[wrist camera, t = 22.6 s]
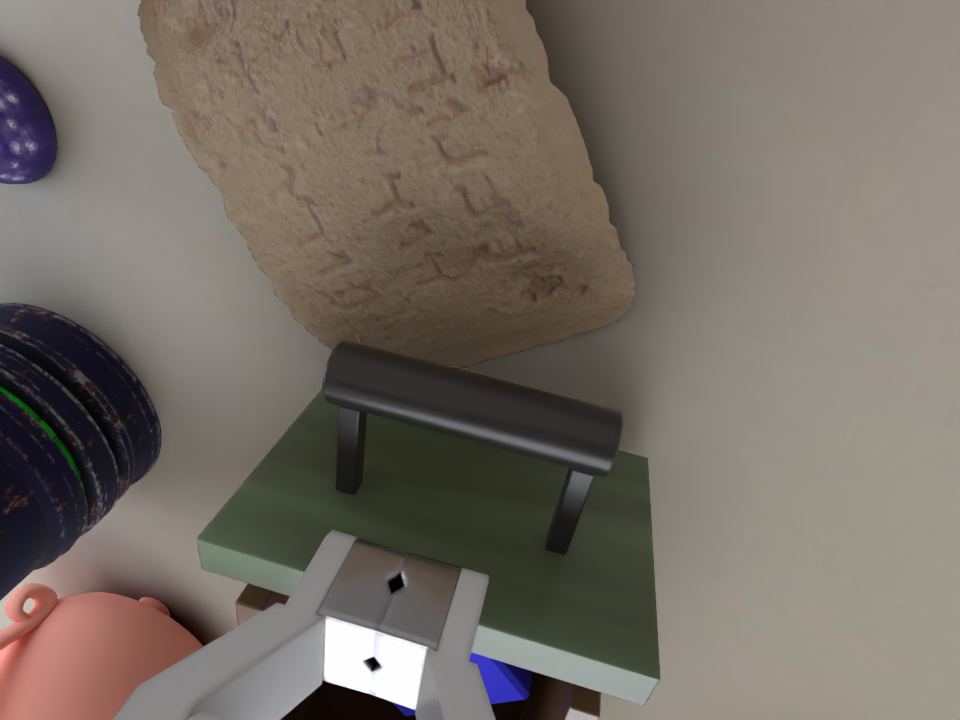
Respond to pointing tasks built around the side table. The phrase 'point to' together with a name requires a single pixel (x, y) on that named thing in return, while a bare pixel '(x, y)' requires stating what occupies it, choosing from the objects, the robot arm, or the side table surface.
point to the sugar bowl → (83, 653)
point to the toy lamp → (23, 130)
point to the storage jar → (63, 436)
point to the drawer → (463, 522)
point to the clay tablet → (396, 168)
